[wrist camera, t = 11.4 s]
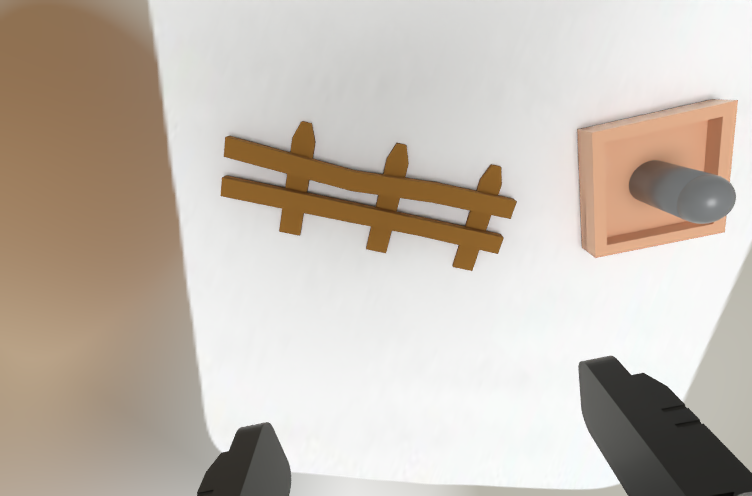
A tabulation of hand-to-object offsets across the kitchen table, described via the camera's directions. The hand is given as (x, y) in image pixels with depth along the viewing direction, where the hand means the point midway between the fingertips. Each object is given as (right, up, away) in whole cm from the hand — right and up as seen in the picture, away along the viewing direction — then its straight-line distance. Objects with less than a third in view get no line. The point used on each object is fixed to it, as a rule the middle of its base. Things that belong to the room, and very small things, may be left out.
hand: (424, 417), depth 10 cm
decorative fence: (-2, +9, +27) cm, 28 cm away
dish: (+22, +10, +25) cm, 35 cm away
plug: (+22, +10, +25) cm, 35 cm away
